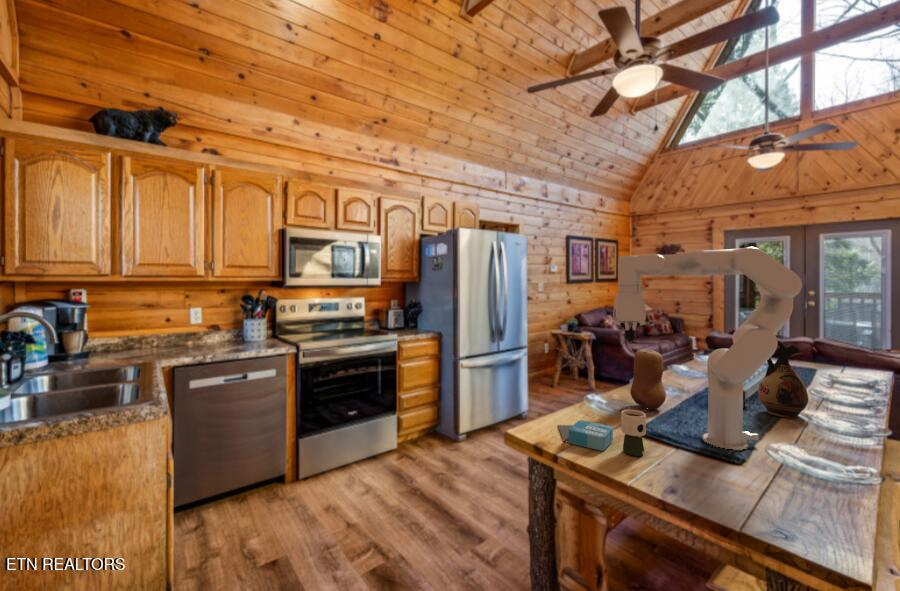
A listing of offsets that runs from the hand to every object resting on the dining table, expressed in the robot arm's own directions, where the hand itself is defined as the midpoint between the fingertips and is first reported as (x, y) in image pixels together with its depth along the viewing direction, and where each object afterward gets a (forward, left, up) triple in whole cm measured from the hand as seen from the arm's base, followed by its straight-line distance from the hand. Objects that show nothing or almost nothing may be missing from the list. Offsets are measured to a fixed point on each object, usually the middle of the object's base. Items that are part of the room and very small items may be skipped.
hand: (629, 340), depth 144 cm
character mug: (+5, +19, -33) cm, 39 cm away
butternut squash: (-16, -28, -33) cm, 46 cm away
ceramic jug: (-65, -24, -33) cm, 77 cm away
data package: (+13, +6, -30) cm, 34 cm away
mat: (+19, +4, -33) cm, 38 cm away
